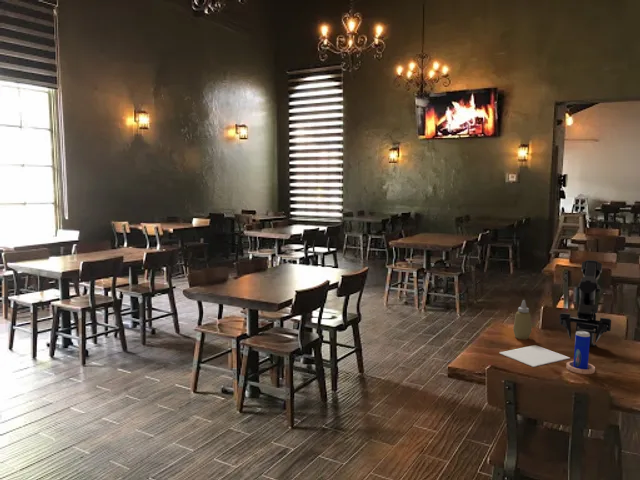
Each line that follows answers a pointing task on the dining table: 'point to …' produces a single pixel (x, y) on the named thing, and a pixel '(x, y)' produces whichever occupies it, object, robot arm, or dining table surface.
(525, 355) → the grey mat
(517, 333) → the squeeze bottle
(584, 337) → the beverage can
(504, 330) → the dining table surface
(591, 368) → the terracotta ring
